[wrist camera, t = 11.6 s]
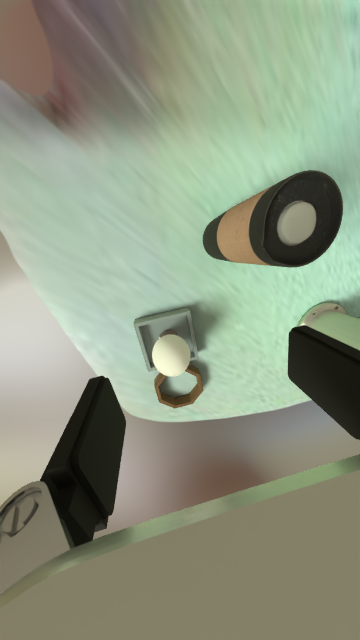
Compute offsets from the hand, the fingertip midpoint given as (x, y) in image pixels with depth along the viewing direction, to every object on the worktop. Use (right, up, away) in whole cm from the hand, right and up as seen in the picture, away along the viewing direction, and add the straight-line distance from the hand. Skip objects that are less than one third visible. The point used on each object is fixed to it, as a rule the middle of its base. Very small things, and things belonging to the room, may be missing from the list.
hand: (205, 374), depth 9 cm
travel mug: (+6, +18, +25) cm, 32 cm away
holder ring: (-2, -12, +35) cm, 36 cm away
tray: (-4, -1, +30) cm, 30 cm away
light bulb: (-4, -1, +30) cm, 30 cm away
